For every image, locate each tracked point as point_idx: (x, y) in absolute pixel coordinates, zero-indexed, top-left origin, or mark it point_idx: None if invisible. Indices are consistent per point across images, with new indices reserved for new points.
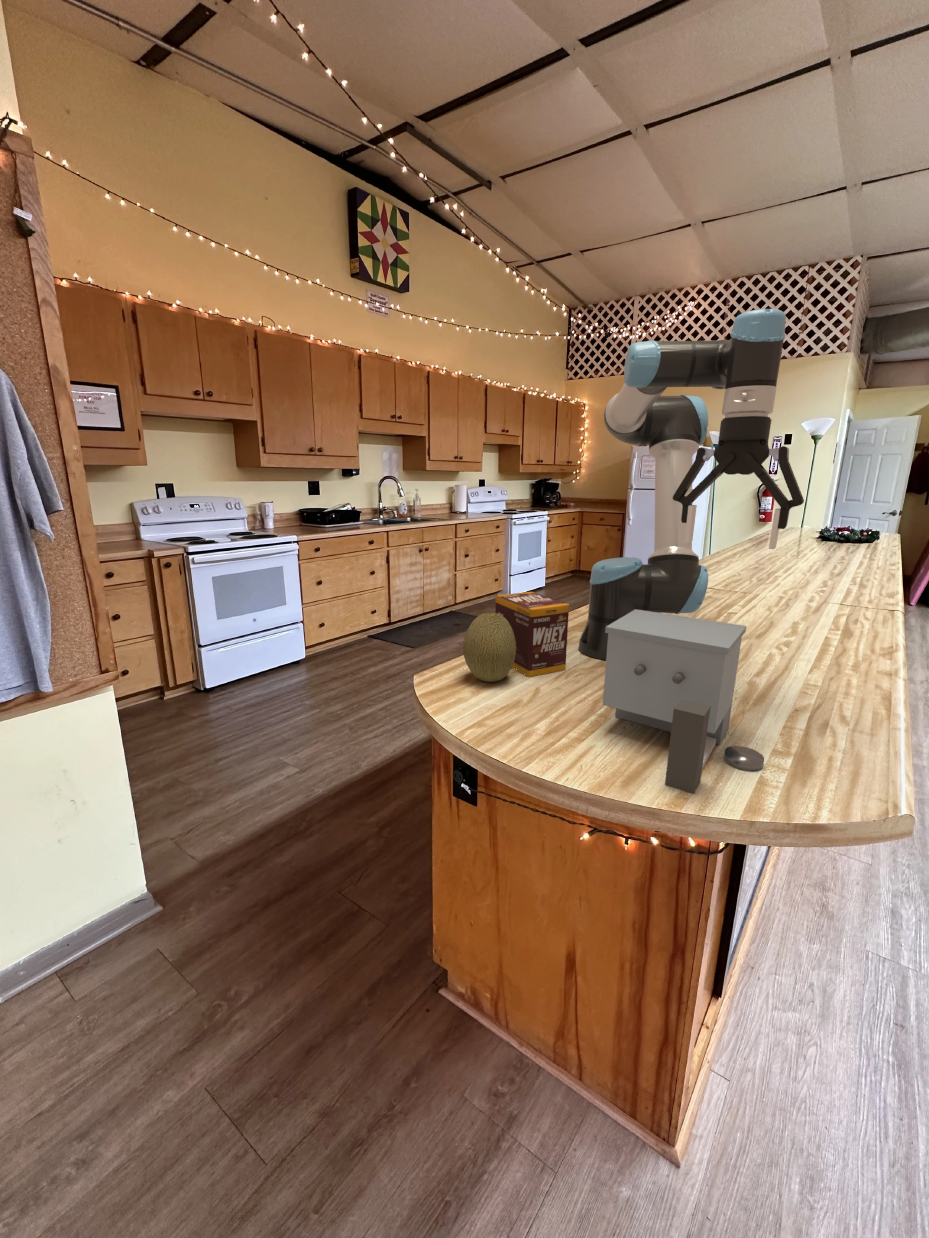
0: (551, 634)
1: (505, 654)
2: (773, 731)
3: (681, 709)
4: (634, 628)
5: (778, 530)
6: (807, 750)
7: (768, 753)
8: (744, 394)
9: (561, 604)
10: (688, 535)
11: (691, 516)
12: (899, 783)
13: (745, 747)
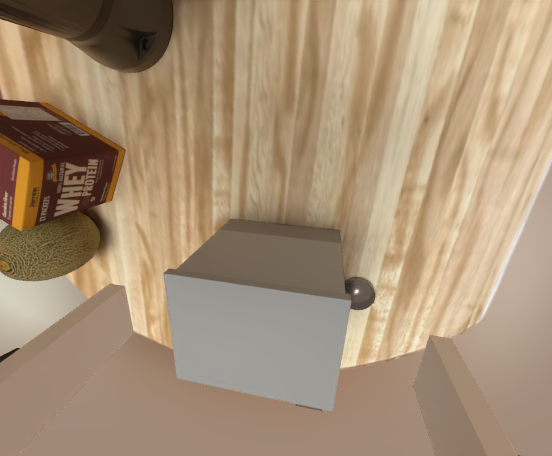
0: (72, 185)
1: (81, 259)
2: (388, 210)
3: (301, 405)
4: (208, 373)
5: (493, 423)
6: (421, 240)
7: (380, 265)
8: None
9: (22, 172)
10: (111, 351)
11: (37, 432)
12: (500, 270)
13: (358, 281)
